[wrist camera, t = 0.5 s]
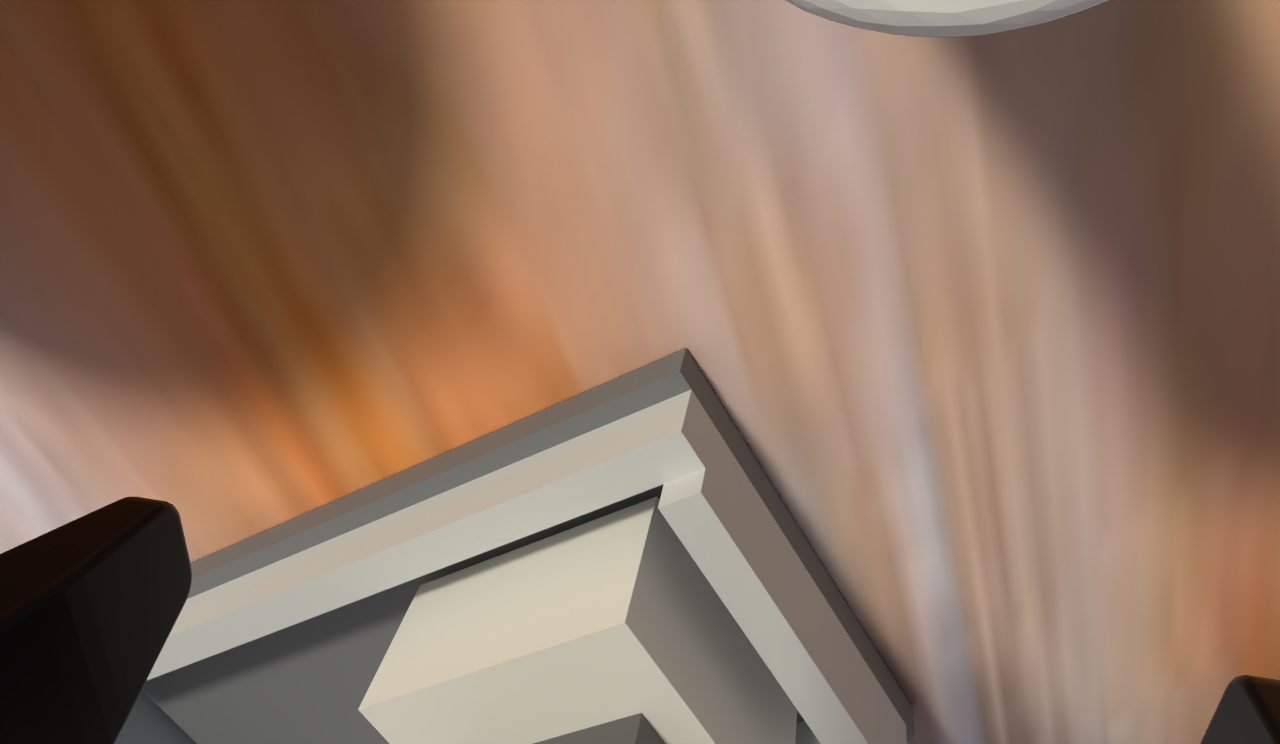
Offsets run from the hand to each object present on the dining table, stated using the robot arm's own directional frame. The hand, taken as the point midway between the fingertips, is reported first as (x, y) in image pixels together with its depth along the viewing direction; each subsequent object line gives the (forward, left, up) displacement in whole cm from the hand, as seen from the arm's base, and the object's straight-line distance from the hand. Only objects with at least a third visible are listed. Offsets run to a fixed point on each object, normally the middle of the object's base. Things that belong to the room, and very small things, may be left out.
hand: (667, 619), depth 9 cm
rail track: (-10, +14, -14) cm, 22 cm away
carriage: (-10, +10, -12) cm, 18 cm away
